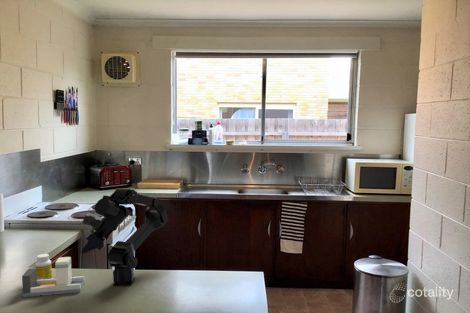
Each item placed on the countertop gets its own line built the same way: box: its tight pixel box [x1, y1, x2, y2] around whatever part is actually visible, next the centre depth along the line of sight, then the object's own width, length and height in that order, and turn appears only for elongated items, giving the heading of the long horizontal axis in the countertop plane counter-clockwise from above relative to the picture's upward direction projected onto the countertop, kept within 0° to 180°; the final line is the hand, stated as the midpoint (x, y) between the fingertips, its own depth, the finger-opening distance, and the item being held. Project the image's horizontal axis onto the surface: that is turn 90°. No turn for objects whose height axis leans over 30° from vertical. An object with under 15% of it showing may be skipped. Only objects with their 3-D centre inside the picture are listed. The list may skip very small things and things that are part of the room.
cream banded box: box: [54, 256, 73, 285], centre depth 136 cm, size 4×5×9 cm
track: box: [21, 267, 85, 298], centre depth 136 cm, size 18×8×7 cm, turn 101°
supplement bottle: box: [34, 253, 53, 280], centre depth 144 cm, size 5×5×10 cm
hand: (82, 251), depth 137 cm, fingers closed
